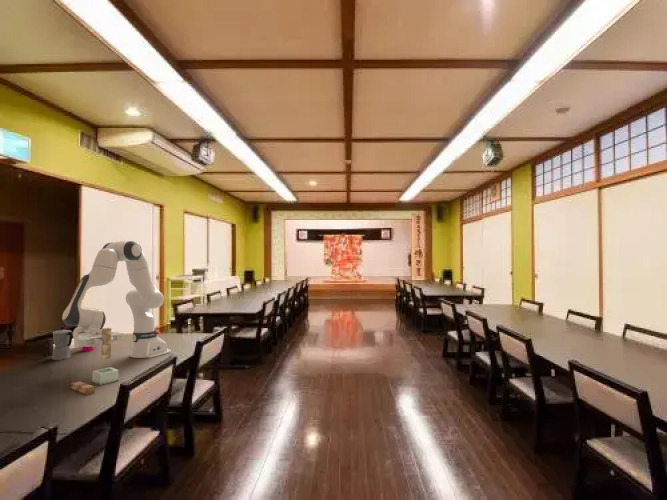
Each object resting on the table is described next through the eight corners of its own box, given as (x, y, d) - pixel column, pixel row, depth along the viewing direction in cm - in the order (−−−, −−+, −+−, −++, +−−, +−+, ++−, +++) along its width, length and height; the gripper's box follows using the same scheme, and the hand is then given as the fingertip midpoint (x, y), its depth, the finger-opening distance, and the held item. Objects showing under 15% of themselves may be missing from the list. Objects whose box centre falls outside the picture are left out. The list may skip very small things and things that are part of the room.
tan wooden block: (107, 357, 186) (108, 327, 186) (110, 358, 184) (111, 328, 185) (100, 358, 184) (101, 328, 184) (103, 359, 182) (104, 329, 182)
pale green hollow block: (110, 377, 189) (110, 367, 189) (118, 380, 185) (118, 370, 185) (92, 381, 183) (92, 370, 183) (100, 385, 178) (100, 374, 178)
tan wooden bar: (71, 389, 173) (71, 382, 173) (78, 387, 175) (78, 380, 176) (87, 395, 165) (87, 388, 166) (94, 393, 168) (94, 386, 168)
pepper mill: (88, 351, 238) (88, 319, 238) (77, 351, 240) (78, 318, 240) (97, 349, 245) (98, 317, 246) (87, 348, 247) (88, 316, 247)
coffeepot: (45, 358, 221) (46, 326, 222) (62, 354, 230) (63, 324, 230) (63, 361, 215) (64, 329, 216) (80, 357, 224) (80, 326, 224)
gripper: (115, 340, 200) (129, 344, 192) (70, 347, 183) (83, 352, 175) (116, 328, 200) (129, 331, 192) (70, 334, 184) (83, 338, 175)
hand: (107, 341), depth 184 cm, fingers closed on tan wooden block, 3 cm apart
